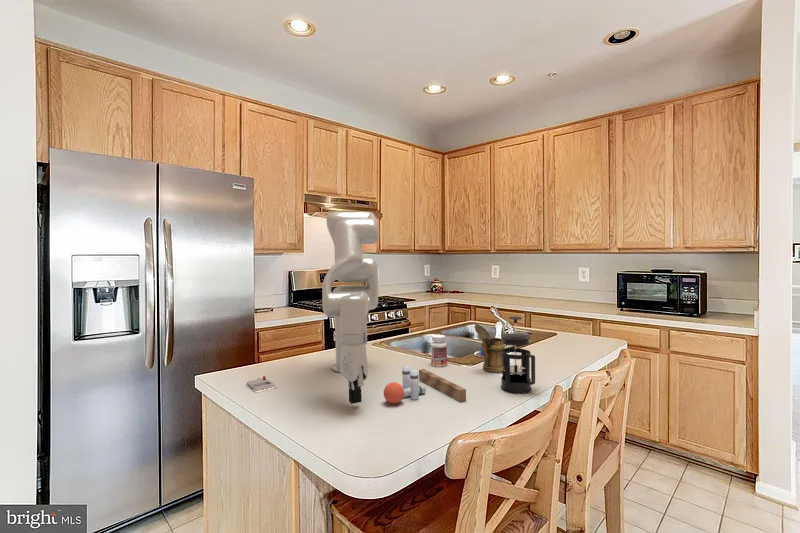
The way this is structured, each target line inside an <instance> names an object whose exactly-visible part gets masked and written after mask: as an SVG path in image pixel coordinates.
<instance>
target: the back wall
mask: <svg viewBox="0 0 800 533" xmlns="http://www.w3.org/2000/svg"><path fill="white" fill-rule="evenodd" d="M418 381H421V382H422V383H424V384H425V385H427V384H428V386H429V387H432V388H433V389H435V390H436V391H439V392H440V391H441V393H442V392H443V393H442V394H444V395H447V396H448V397H450V398H451V399H453V398H454V399H453V400H456V401H458V402H459V403H463V402H467V389H466V388H465V387H462V386H461V385H458V384H456V383H454V382H452V381H449V380H447V379H445V378H444V377H441V376H439V375H437V374H435V373H433V372H431V371H429V370H427V369H425V368H422V369H418Z"/></svg>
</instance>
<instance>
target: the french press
mask: <svg viewBox="0 0 800 533" xmlns="http://www.w3.org/2000/svg"><path fill="white" fill-rule="evenodd" d="M508 319H509V320H513V324H514V333H511V332H510V333H504V334H501V335H500V338H501V339H502V340H503V344H504V345H507V346H512V347H511V348H509V347H508V348H504V349H503V350H501V356H503V368H502V369H503V373H502V376H501V379H500V380H501V385H500V389H501V390H502V391H503V392H506V393H508V394H515V395H524V394H529V393H531V392H532V390H533V389H532V387H531V386H532V385H535V384H536V355H534V354H531V351H530V350H527V349H525V348H517V346H519V347H523V346H528V345H529V344H530V339H531V336H530V335H529V334H524V333H517V324H518V320H522V319H523V317H521V316H517V315H515V316H509V317H508ZM513 346H514V347H513ZM509 353H510V354H509ZM511 353H514V354H511ZM517 353H518V354H517ZM519 353H520V354H519ZM511 360H514V365H513V364H511ZM517 360H520V361H521V362H520V363H521V365H517Z"/></svg>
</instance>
